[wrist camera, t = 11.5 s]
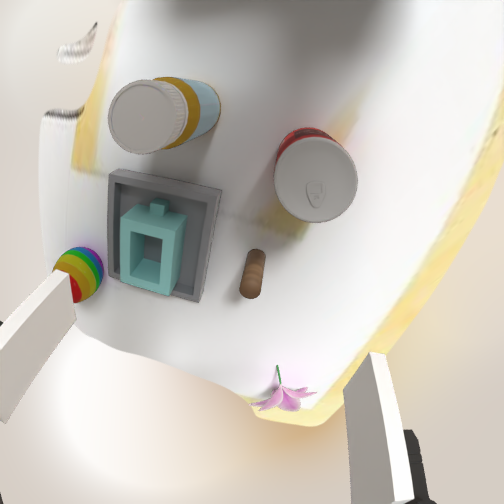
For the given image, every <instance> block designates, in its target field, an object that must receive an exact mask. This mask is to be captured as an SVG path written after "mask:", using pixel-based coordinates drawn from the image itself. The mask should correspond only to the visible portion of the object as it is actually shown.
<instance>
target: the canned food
mask: <svg viewBox="0 0 504 504" xmlns="http://www.w3.org/2000/svg"><path fill="white" fill-rule="evenodd" d="M357 184H358V178H357V171H356V168H355V165H354V162H353V160H352V158H351V157H350V155H349V154H348V153H347V151H346V150H345V149H344V148H343V147H342V146H341V145H340V144H339V143H337V142H336V141H335V140H334V139H333V138H331V137H330V136H329V135H328V134H326V133H325V132H323V131H321V130H319V129H315V128H300V129H297V130H295V131H293V132H291V133H290V134H288V135H287V136H286V137H285V138H284V140H283V141H282V143H281V144H280V147H279V149H278V154H277V159H276V164H275V170H274V186H275V191H276V194H277V197H278V199H279V201H280V203H281V204H282V206H283V207H284V208H285V209H286V210H287V211H288V212H289V213H290V214H291V215H293V216H294V217H296V218H298V219H300V220H302V221H306V222H310V223H321V222H327V221H330V220H332V219H335V218H336V217H338V216H340V215H341V214H342V213H343V212H344V211H346V210H347V208H348V207H349V206H350V204H351V203H352V201H353V199H354V197H355V194H356V191H357Z"/></svg>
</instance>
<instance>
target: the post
mask: <svg viewBox="0 0 504 504" xmlns="http://www.w3.org/2000/svg"><path fill="white" fill-rule="evenodd" d="M264 264H265V254H264V252H263V251H261V250H259V249H253V250H251V251H250V252H249V253H248V256H247V260H246V264H245V268H244V272H243V276H242V280H241V284H240V288H239V291H240V293H241V295H242V296H243V297H245V298H248V299H254V298H256V297H258V296H259V295H260V292H261V285H262V278H263V271H264Z"/></svg>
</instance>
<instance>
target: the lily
mask: <svg viewBox="0 0 504 504" xmlns="http://www.w3.org/2000/svg"><path fill="white" fill-rule="evenodd" d="M277 371H278V376H279V382H280V386H279V388H278V389H277V390H273V391H272V393H271V396H272V397H271V398H269V399H267V400H264V401H260V402H256V403H251V404H249V405H250V406H257V407H262V406H263V407H262V408H260V409H259V410H258V411H262V410H267V409H270V408H273V407H276V406H278V407H279V408H280V409H282V410H285V411H298V410H299V409H300V405H301V403H300V400H299V398H305V397H308V396H311V395H313V394H316V393H317V392H309V393H305V392H306V391H307V389H308V387H304V388H302V389H299V390H297V391H292V390H290V389H287V388H285V387H283V386H282V384H281V378H280V373H279V367H278V365H277Z"/></svg>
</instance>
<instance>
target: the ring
mask: <svg viewBox="0 0 504 504" xmlns="http://www.w3.org/2000/svg"><path fill="white" fill-rule="evenodd" d="M169 203H170V201H168V200H164V199H159V198H155V199H154V200H153V201H152V202H151V203H150V207H149V206H145V205H140V204H136V205H135V206H134V207H133V208H132V209H130V210H129V211H128V212H127V213H125V214H124V215H123V216H122V217H121V222H120V279H121V282H123V283H127V284H130V285H133V286H136V287H140V288H143V289H146V290H149V291H153V292H156V293H160V294H163V295H167V296H169V295H170V294H171V292H172V290H173V288H174V286H175V284H176V283H177V281H178V279H179V277H180V270H181V262H182V254H183V246H184V238H185V231H186V223H187V215H183V214H179V213H174V212H170V211H169ZM145 235H148V236H152V237H156V238H160V239H163V243H162V255H161V263H159V262H156V261H152V260H149V259H145V258H144V240H145Z"/></svg>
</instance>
